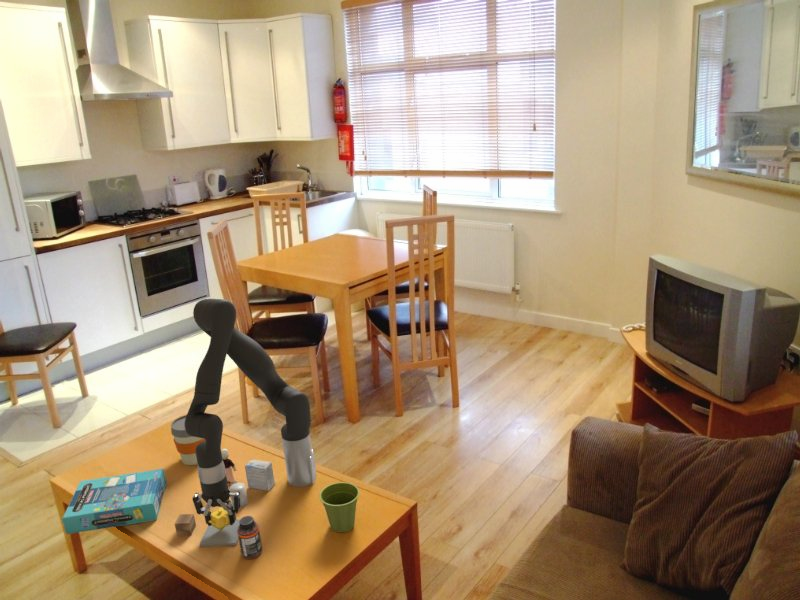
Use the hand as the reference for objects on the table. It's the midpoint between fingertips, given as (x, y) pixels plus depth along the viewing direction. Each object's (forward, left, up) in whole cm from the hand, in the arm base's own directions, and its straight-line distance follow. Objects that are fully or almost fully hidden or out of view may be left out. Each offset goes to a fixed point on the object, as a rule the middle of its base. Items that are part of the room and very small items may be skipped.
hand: (221, 523), depth 199 cm
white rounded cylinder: (-1, -15, -4) cm, 15 cm away
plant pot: (-36, -2, -4) cm, 36 cm away
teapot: (0, 0, -1) cm, 1 cm away
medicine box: (-6, -24, -4) cm, 25 cm away
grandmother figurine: (+6, -27, -4) cm, 28 cm away
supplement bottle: (-11, +9, -4) cm, 15 cm away
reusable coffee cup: (+23, -43, -4) cm, 49 cm away
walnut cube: (+12, -2, -4) cm, 13 cm away
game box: (+25, -17, 0) cm, 31 cm away
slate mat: (0, 0, -4) cm, 4 cm away
